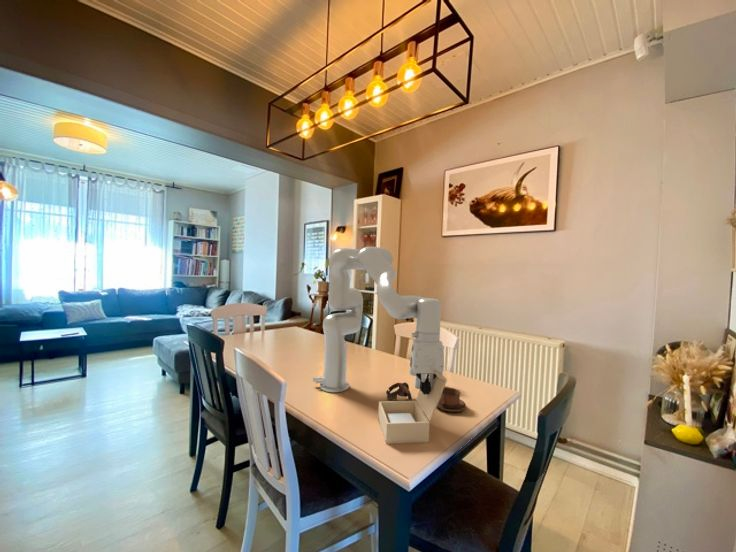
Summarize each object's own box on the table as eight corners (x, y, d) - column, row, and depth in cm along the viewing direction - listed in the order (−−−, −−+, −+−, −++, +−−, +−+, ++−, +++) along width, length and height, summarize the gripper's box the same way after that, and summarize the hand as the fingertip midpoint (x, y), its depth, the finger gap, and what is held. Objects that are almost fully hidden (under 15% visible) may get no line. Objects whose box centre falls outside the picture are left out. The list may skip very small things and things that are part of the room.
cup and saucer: (462, 418, 108) (462, 400, 108) (428, 409, 114) (429, 393, 114) (468, 405, 119) (469, 389, 119) (437, 398, 125) (438, 383, 124)
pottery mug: (411, 411, 113) (400, 392, 113) (390, 416, 118) (380, 397, 117) (419, 391, 124) (409, 374, 123) (399, 396, 128) (390, 379, 128)
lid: (439, 376, 92) (447, 379, 92) (424, 361, 107) (431, 364, 107) (423, 418, 92) (431, 421, 92) (410, 397, 106) (417, 400, 107)
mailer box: (386, 443, 91) (386, 423, 90) (378, 418, 105) (378, 401, 105) (428, 442, 92) (429, 422, 92) (415, 417, 107) (415, 400, 107)
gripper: (407, 339, 94) (405, 398, 95) (454, 339, 96) (451, 397, 97) (402, 333, 102) (399, 388, 102) (445, 334, 103) (443, 388, 104)
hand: (425, 392), depth 99 cm, fingers closed
